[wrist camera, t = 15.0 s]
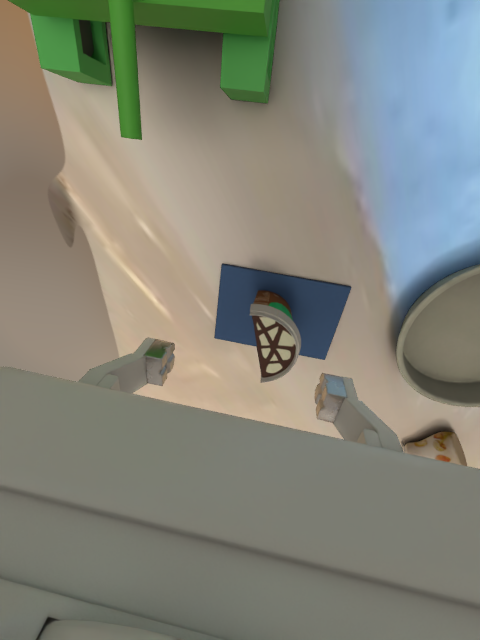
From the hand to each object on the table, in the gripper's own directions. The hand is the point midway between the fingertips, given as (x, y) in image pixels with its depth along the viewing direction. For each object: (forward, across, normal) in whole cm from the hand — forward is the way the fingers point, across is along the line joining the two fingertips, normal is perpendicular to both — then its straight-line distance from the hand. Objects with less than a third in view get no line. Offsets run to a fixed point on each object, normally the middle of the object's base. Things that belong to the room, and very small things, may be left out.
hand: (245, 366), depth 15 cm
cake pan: (+29, -33, +8) cm, 45 cm away
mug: (+29, -38, +34) cm, 59 cm away
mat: (+29, -3, +12) cm, 32 cm away
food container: (+29, -4, +12) cm, 31 cm away
